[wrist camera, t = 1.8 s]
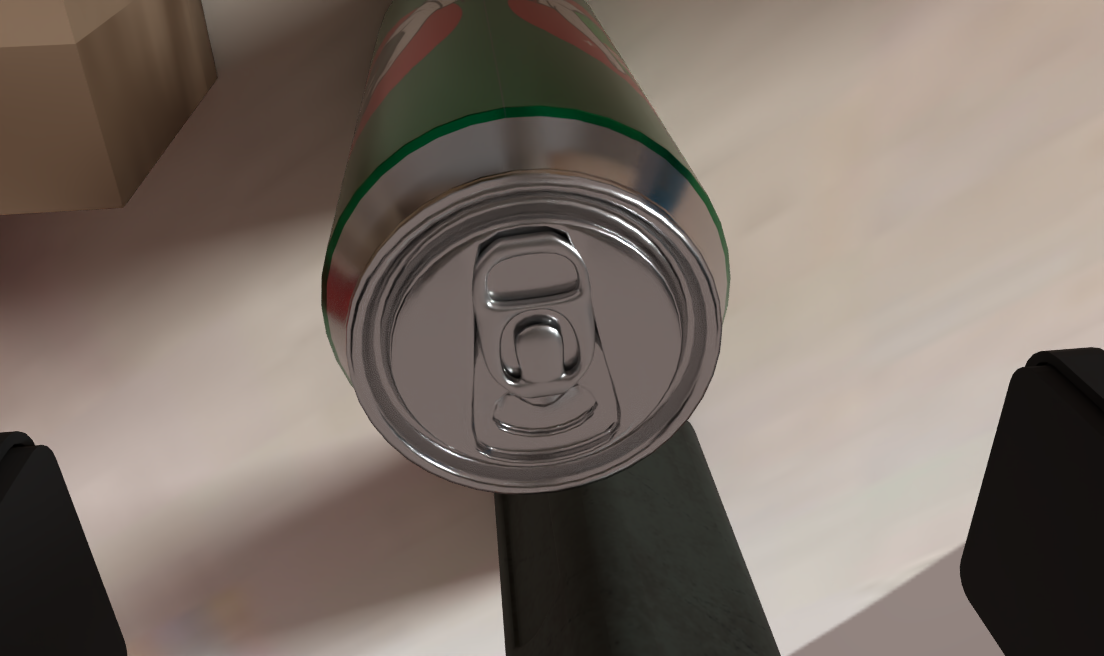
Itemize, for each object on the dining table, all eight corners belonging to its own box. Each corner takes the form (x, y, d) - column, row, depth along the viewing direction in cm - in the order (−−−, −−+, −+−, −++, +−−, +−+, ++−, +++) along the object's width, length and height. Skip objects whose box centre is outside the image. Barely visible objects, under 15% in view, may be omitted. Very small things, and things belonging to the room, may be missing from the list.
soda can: (398, 182, 22) (362, 546, 12) (354, -41, 19) (253, 176, 9) (608, 155, 22) (752, 488, 12) (592, -71, 19) (762, 108, 9)
